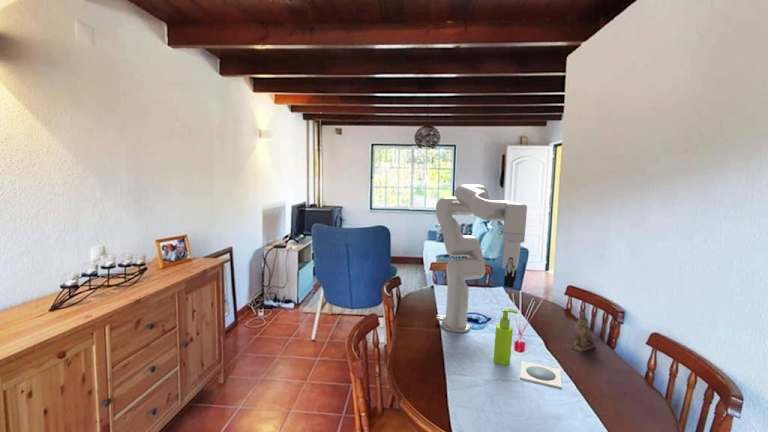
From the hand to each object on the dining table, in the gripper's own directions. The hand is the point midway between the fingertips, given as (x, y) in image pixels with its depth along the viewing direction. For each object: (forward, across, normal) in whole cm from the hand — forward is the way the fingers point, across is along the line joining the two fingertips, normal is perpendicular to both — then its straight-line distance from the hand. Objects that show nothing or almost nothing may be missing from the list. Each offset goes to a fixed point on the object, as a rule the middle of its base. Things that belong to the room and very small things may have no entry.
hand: (509, 283), depth 139 cm
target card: (+30, +4, +13) cm, 33 cm away
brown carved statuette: (+30, -30, +29) cm, 51 cm away
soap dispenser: (+30, 0, 0) cm, 30 cm away
